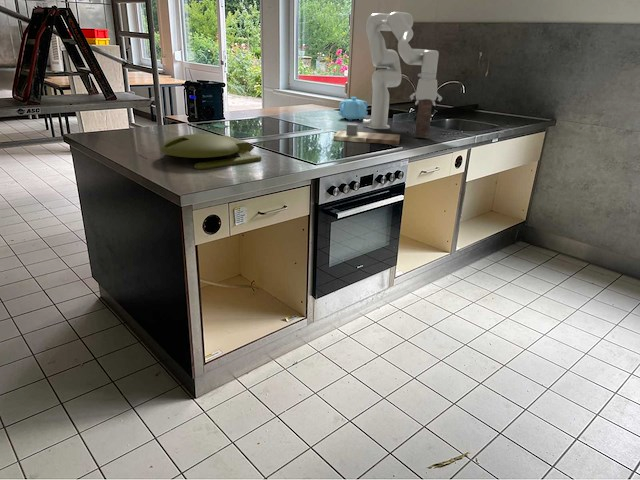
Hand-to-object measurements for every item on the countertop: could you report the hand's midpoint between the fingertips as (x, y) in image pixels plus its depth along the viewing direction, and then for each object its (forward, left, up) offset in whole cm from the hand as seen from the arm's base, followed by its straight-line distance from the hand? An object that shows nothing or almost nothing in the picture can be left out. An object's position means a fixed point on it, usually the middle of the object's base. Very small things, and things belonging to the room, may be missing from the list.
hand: (424, 112), depth 248 cm
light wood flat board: (-27, -14, -13) cm, 33 cm away
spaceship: (-86, -78, -13) cm, 117 cm away
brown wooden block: (0, 0, -13) cm, 13 cm away
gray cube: (-35, -14, -11) cm, 39 cm away
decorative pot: (-42, +50, -13) cm, 67 cm away
